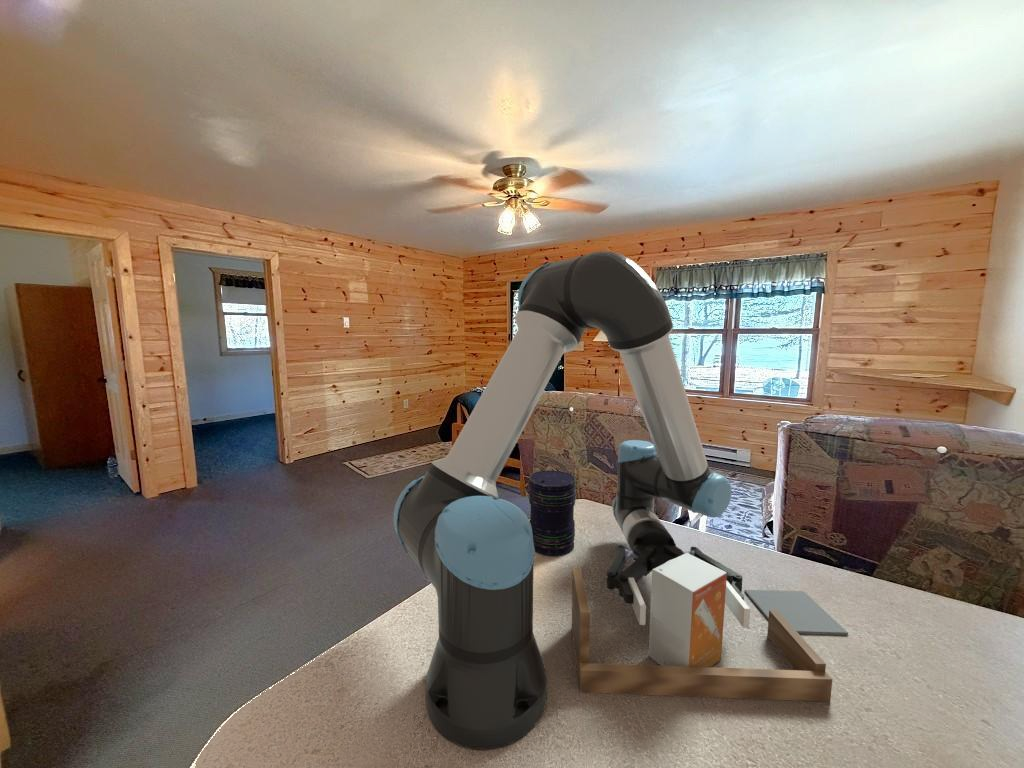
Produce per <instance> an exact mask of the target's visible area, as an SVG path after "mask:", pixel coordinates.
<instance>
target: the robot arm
mask: <svg viewBox="0 0 1024 768" xmlns="http://www.w3.org/2000/svg"><path fill="white" fill-rule="evenodd" d="M517 301H518V306H517V309H518V311H517V312H516V314H515V317H514V321H515V323H516V325H517V331H516V332H515V335H514V336H513V338H512V340H511V341H510V343H509V345H508V347H507V349H506V351H505V353H504V354H503V355H502V357H501V359H500V362H499V363H498V364H497V367H496V368H495V370H494V372H493V373H492V375H491V377H490V379H489V381H488V383H487V384H486V386H485V388H484V390H483V391H482V393H481V395H480V397H479V399H478V400H477V402H476V405H475V406H474V407H473V410H472V411H471V413H470V415H469V417H468V418H467V421H466V422H465V424H464V426H463V428H462V429H461V431H460V433H459V434H458V436H457V438H456V440H454V441H455V442H454V443H453V445H452V447H451V449H450V450H449V452H448V454H447V455H446V456H444V457H442V458H439V459H436V460H433V461H432V462H431V464H430V466H429V467H428V469H427V470H426V473H425V474H424V475H423V476H420V477H419V478H417V479H413V481H412V480H411V482H410V483H409V484H407V485H406V486H405V487H404V489H403V490H402V491H401V492H400V494H399V495H398V497H397V500H396V503H395V506H394V509H393V510H394V511H393V528H394V530H395V533H396V535H397V537H398V540H399V542H400V545H401V546H402V548H403V550H404V552H406V553H407V554H409V556H410V557H411V558H412V560H413V561H414V563H415V564H416V565H417V566H418V568H420V570H421V571H422V573H423V574H424V575H425V576H426V578H427V579H428V580H429V582H430V584H432V586H433V588H434V589H435V591H436V595H437V617H438V619H437V620H438V639H437V641H436V645H435V647H434V651H433V654H432V658H431V661H430V663H429V666H428V670H427V674H426V679H425V705H426V706H425V707H426V711H427V715H428V717H429V719H430V721H431V723H432V725H433V726H434V728H435V729H436V730H437V731H438V732H439V734H441V735H442V736H443V737H444V738H445V739H447V740H449V741H450V742H452V743H454V744H456V745H458V746H460V747H461V746H462V747H464V748H469V749H473V750H490V749H491V750H492V749H496V748H501V747H505V746H507V745H510V744H511V743H514V742H516V741H518V740H520V739H521V738H523V737H524V736H525V735H526V734H528V733H529V732H530V731H531V730H533V728H534V726H536V724H537V723H538V721H539V720H540V718H541V716H542V715H543V712H544V711H545V707H546V702H547V693H548V692H547V690H548V687H547V686H548V685H547V683H548V682H547V680H548V677H547V671H546V666H545V663H544V660H543V657H542V654H541V652H540V648H539V645H538V643H537V640H536V637H535V634H534V631H533V630H534V625H533V624H534V562H535V561H534V560H535V556H536V554H535V553H536V552H535V549H534V543H533V534H532V527H531V524H530V521H529V520H530V518H528V516H527V515H526V513H525V512H524V511H523V510H522V508H520V507H519V506H517V505H516V504H514V503H512V502H510V501H508V500H506V499H503V498H499V494H498V489H497V480H498V478H499V477H500V475H501V473H502V471H503V469H504V467H505V465H506V463H507V462H508V459H509V457H510V455H511V454H512V452H513V450H514V448H515V446H516V444H517V442H518V441H519V440H520V437H521V434H522V433H523V431H524V429H525V427H526V426H527V423H528V421H529V419H530V418H531V417H532V416H531V415H532V413H533V412H534V410H535V408H536V406H537V404H538V402H539V400H540V399H541V396H542V395H543V393H544V391H545V389H546V388H547V385H548V383H549V381H550V379H551V378H552V376H553V373H554V372H555V370H556V368H557V366H558V364H559V362H560V361H561V358H562V357H563V355H564V354H565V353H570V352H573V351H575V350H576V349H577V348H578V346H579V344H580V342H581V340H582V338H583V336H584V335H585V333H586V331H587V330H595V329H598V330H600V331H601V332H602V333H603V334H604V335H605V337H606V340H607V342H608V345H609V347H610V348H611V350H612V351H614V352H615V351H616V352H618V353H619V355H620V357H621V361H622V364H623V366H624V369H625V371H626V374H627V377H628V379H629V383H630V385H631V387H632V390H633V392H634V396H635V398H636V400H637V404H638V407H639V409H640V411H641V415H642V417H643V420H644V422H645V425H646V428H647V430H648V433H649V437H650V439H651V442H650V441H646V440H641V439H640V440H639V439H631V440H630V439H629V440H625V441H623V442H620V444H619V446H618V455H617V460H616V463H617V464H616V467H617V469H616V470H617V472H616V473H617V475H616V477H617V479H616V496H615V497H614V498H613V501H612V506H611V507H612V511H613V517H614V518H615V521H616V523H617V524H618V526H619V528H620V530H621V532H622V535H623V536H624V538H625V540H626V542H627V545H628V546H629V549H630V550H629V549H628V548H627V549H626V548H625V546H624V545H623V544H618V545H617V548H616V549H617V550H616V555H615V556H614V558H613V560H612V562H611V564H610V566H609V567H608V569H607V571H606V589H607V590H609V591H613V590H615V589H618V595H619V597H620V598H623V601H624V603H626V604H627V605H629V604H630V605H631V606H632V609H633V611H634V614H635V617H636V619H637V621H638V624H639V626H645V625H646V617H647V605H646V603H645V600H644V598H643V596H642V594H641V591H640V588H639V587H638V585H637V583H638V582H639V581H641V579H643V577H647V576H648V575H649V574H650V573H652V569H654V568H656V567H658V566H660V565H662V564H664V563H666V562H667V561H669V560H671V559H674V558H677V557H679V556H681V555H683V554H685V553H689V554H690V555H692V556H695V557H697V558H699V559H701V560H703V561H705V562H707V563H709V564H711V565H713V566H715V567H717V568H719V569H721V570H723V571H725V572H727V580H726V595H725V605H726V607H727V608H728V610H730V612H731V613H732V615H733V616H734V618H735V619H736V620H737V622H738V623H739V624H740V625H741V627H742V628H744V629H745V628H746V629H747V628H749V629H750V618H751V608H750V606H749V605H748V604H747V603H746V602H745V595H744V594H743V593H742V589H743V575H741V574H740V573H738V572H737V571H735V570H733V569H731V568H730V567H728V566H726V565H724V564H722V563H720V562H719V561H718V560H715V559H713V558H712V557H711V556H709V555H707V554H705V553H703V552H702V551H701V550H700V549H699V548H698V547H696V546H690V551H689V550H688V551H686V550H684V551H683V550H682V548H680V547H678V546H677V544H676V542H675V540H674V538H673V536H672V535H671V534H670V533H669V530H668V529H667V528H666V526H665V525H664V523H663V521H662V520H661V519H659V517H658V515H657V514H656V513H655V498H658V499H660V500H664V501H666V502H667V503H670V504H672V505H673V504H674V505H675V506H678V507H681V508H684V509H685V510H688V511H690V512H691V513H693V514H695V513H697V514H699V515H702V516H705V517H709V518H712V519H713V518H718V517H720V516H722V515H723V514H724V512H725V511H726V510H727V509H728V507H729V505H730V503H731V499H732V485H731V482H730V480H729V479H727V478H726V476H724V475H722V474H719V473H717V472H712V471H711V469H710V465H709V463H708V461H707V456H706V454H705V450H704V448H703V447H704V446H703V445H702V440H701V438H700V434H699V430H698V428H697V425H696V421H695V417H694V414H693V411H692V408H691V405H690V402H689V397H688V395H687V391H686V388H685V385H684V382H683V378H682V376H681V375H682V374H681V372H680V369H679V368H680V367H679V366H678V362H677V359H676V356H675V352H674V350H673V349H674V348H673V346H672V343H671V339H670V335H671V333H672V331H673V330H674V323H673V321H672V317H671V314H670V313H671V312H670V310H669V308H668V305H667V303H666V301H665V299H664V296H663V295H662V294H661V292H660V290H659V289H658V287H657V285H656V283H655V282H654V281H653V280H652V278H651V277H650V276H649V275H648V274H647V272H646V271H645V270H644V269H643V268H642V267H640V265H638V263H636V262H635V261H634V260H632V259H631V258H629V257H627V256H625V255H623V254H621V253H618V252H615V251H614V252H613V251H608V250H599V251H593V252H591V253H590V252H589V253H587V254H585V255H580V256H575V257H572V258H571V257H570V258H565V259H561V260H557V261H551V262H547V263H544V264H543V265H542V266H539V267H537V268H535V269H533V270H532V271H531V272H529V273H528V274H527V275H526V276H525V277H524V279H523V280H522V281H521V285H520V286H519V289H518V292H517ZM631 559H633V562H632V563H631V564H630V565H629V566H628V567H626V565H628V564H629V561H631Z"/></svg>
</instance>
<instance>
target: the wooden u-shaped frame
mask: <svg viewBox="0 0 1024 768" xmlns="http://www.w3.org/2000/svg"><path fill="white" fill-rule="evenodd" d="M571 574H572V576H571V577H572V582H571V583H572V584H571V585H572V586H571V634H572V642H573V649H574V656H575V663H576V670H577V677H578V684H579V685H578V687H579V692H580V693H593V694H594V693H595V694H596V693H597V694H615V695H616V694H619V695H620V694H622V695H624V694H625V695H643V696H644V695H646V696H647V695H648V696H671V697H698V698H700V697H701V698H721V699H722V698H726V699H727V698H729V699H746V700H747V699H751V700H754V699H755V700H771V701H772V700H776V701H777V700H778V701H779V700H780V701H799V702H800V701H801V702H806V701H807V702H828V703H829V702H830V703H831V697H832V690H833V689H832V687H833V678H832V677H831V676H830V675H829V674H828V673H827V672H826V669H827V668H826V667H827V664H826V663H825V661H824V659H822V658H821V656H819V654H817V653H816V651H815V650H814V649H813V648H812V647H811V645H809V643H807V641H806V640H805V639H804V637H802V636H801V635H800V634H798V632H797V631H796V630H795V629H794V628H793V627H792V626H791V625H790V624H789V623H788V621H787V620H786V619H785V618H784V617H783V616H782V615H781V614H780V613H779V611H778V610H769V620H768V619H767V620H768V623H767V637H768V638H769V640H771V642H772V643H773V644H774V645H775V646H776V647H777V649H778V650H779V651H780V653H781V654H782V655H783V656H784V658H785V659H786V660H787V661H788V662H789V664H790V665H791V667H792V668H793V669H768V668H767V669H766V668H765V669H763V668H739V667H737V668H736V667H714V666H711V667H687V666H661V665H659V664H658V665H657V664H656V665H649V664H629V663H628V664H623V663H602V662H601V663H599V662H593V663H592V662H590V638H591V637H590V635H591V633H590V631H591V630H590V628H591V611H590V606H589V601H588V596H587V591H586V587H585V586H586V585H585V583H584V578H583V577H584V576H583V573H582V568H581V567H572V573H571Z"/></svg>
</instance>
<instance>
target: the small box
mask: <svg viewBox="0 0 1024 768" xmlns="http://www.w3.org/2000/svg"><path fill="white" fill-rule="evenodd" d="M726 580H727V572H725V571H723V570H721V569H719V568H717V567H715V566H713V565H711V564H709V563H707V562H705V561H703V560H701V559H699V558H697V557H695V556H692V555H690V554H689V553H685V554H683V555H681V556H679V557H677V558H674V559H671V560H669V561H667V562H666V563H664V564H662V565H660V566H658V567H656V568H654V569H652V571H651V582H650V583H651V585H650V586H651V588H650V611H649V614H650V615H649V633H648V657H650V658H651V659H652V660H654V661H655V663H657V664H658V665H659V666H687V667H714V665H715V664H717V663H718V662H719V661H721V660H722V653H723V652H722V650H723V637H724V636H723V635H724V621H725V620H724V619H725V610H726V609H725V608H726V607H725V605H726V604H725V595H726Z"/></svg>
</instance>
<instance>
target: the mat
mask: <svg viewBox="0 0 1024 768" xmlns="http://www.w3.org/2000/svg"><path fill="white" fill-rule="evenodd" d="M744 593H745V594H746V595H747V596H748V598H749V599H750V600H751V601H752V603H754V605H755V606H756V607H757V608H758V609H759V611H760V612H761V614H763V616H764V617H765V618H766V619H767V620H769V610H778V611H779V613H780V614H781V615H782V616H783V617H784V618H785V619H786V620H787V621H788V623H789V624H790V625H791V626H792V627H793V628H794V629H795V630H796V631H797V632H798V634H799V635H800V634H801V635H803V634H804V635H805V634H806V635H832V636H833V635H835V636H837V635H838V636H848V635H849V632H848V631H847V630H846V629H845V628H844V627H843V626H842V625H841V624H840V623H839V622H837V620H836V619H834V618H833V617H832V616H831V615H830V614H829V613H828V612H826V610H825V609H823V607H822V606H820V605H819V604H818V603H817V602H816V601H815V600H814V599H813V598H811V597H810V596H809V595H808V593H806V592H805V590H773V589H772V590H771V589H768V590H767V589H744Z"/></svg>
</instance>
